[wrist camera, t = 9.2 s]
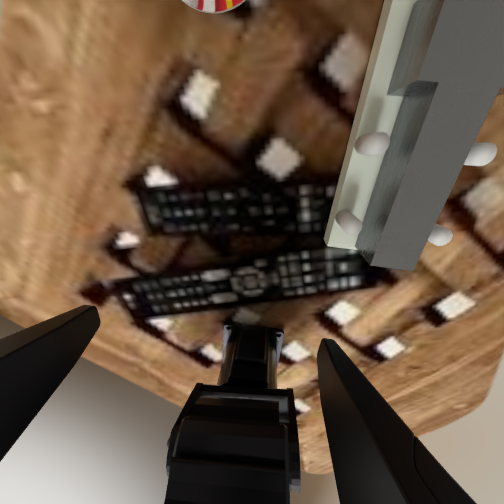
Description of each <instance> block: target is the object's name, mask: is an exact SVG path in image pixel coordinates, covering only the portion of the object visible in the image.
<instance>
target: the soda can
mask: <svg viewBox="0 0 504 504" xmlns="http://www.w3.org/2000/svg"><path fill="white" fill-rule="evenodd" d="M182 1H183V2H184V3H185V4H187V5H188V6H190V7H192V8H193V9H196V10H198V11H201V12H205V13H212V14H216V13H223V12H226V11H229V10H232V9H234V8H236V7H237V6H239V5H241V4H242V3H243V2H244V1H246V0H182Z"/></svg>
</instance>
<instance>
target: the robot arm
mask: <svg viewBox="0 0 504 504" xmlns="http://www.w3.org/2000/svg"><path fill="white" fill-rule="evenodd" d="M99 326H100V318H99V314H98V310H97V308H96V307H95V306H91V305H83V306H80V307H78V308H75V309H73V310H70V311H68V312H65V313H63V314H60V315H58V316H56V317H53V318H51V319H48V320H46V321H43V322H41V323H38V324H36V325H34V326H31V327H29V328H26V329H24V330H21V331H19V332H16V333H14V334H11V335H9V336H7V337H4V338H2V339H0V461H1V460H2V459H3V458H4V456H5V455H6V454H7V452H8V451H9V450H10V448H11V447H12V446H13V445H14V443H15V442H16V440H17V439H18V438H19V437H20V436H21V434H22V433H23V432H24V430H25V429H26V428H27V426H28V425H29V424H30V423H31V421H32V420H33V419H34V417H35V416H36V415H37V413H38V412H39V411H40V410H41V408H42V407H43V406H44V404H45V403H46V402H47V401H48V399H49V398H50V397H51V395H52V394H53V393H54V391H55V390H56V389H57V388H58V386H59V385H60V384H61V382H62V381H63V380H64V378H65V377H66V376H67V374H68V373H69V372H70V371H71V369H72V368H73V367H74V365H75V364H76V362H77V361H78V359H79V358H80V356H81V355H82V353H83V352H84V350H85V349H86V347H87V346H88V344H89V342H90V341H91V339H92V338H93V336H94V335H95V333H96V332H97V330H98V328H99ZM228 326H229V327H228ZM283 337H284V332H283V330H281V329H275V328H268V327H261V326H254V325H247V324H240V323H232V322H227V323H225V326H224V340H223V359H222V366H221V371H220V375H219V379H218V383H217V385H207V384H203V383H197V384H196V386H195V387H194V389H193V391H192V392H191V394H190V396H189V398H188V400H187V402H186V404H185V406H184V408H183V409H182V412H181V413H180V415H179V417H178V419H177V421H176V423H175V425H174V427H173V429H172V431H171V435H170V437H169V439H168V442H167V448H168V454H167V464H166V469H167V476H168V477H169V478H168V485H167V491H166V498H165V502H164V504H290V491H292V492H300V453H299V439H298V429H297V420H296V412H295V403H294V394H293V389H291V388H287V389H277V366H278V361H279V356H280V352H281V347H282V342H283ZM317 365H318V377H319V389H320V399H321V406H322V412H323V417H324V422H325V427H326V433H327V438H328V443H329V448H330V453H331V459H332V464H333V469H334V474H335V480H336V485H337V490H338V495H339V500H340V504H477V503H475V501H474V500H473V499H472V498H471V497H470V496H469V495H468V494H467V493H466V492H465V491H464V490H463V489H462V487H461V486H460V485H459V484H458V483H457V482H456V481H455V480H454V479H453V478H452V477H451V476H450V475H449V473H448V472H447V471H446V470H445V469H444V468H443V467H442V466H441V464H440V463H439V462H438V461H437V460H436V459H435V458H434V456H433V455H432V454H431V453H430V452H429V451H428V450H427V448H426V447H425V446H424V445H423V444H422V442H421V441H420V440H419V439H418V438H417V437H416V436H414V433H413V432H412V431H411V430H410V429H409V427H408V426H407V425H406V424H405V423H404V422H403V420H402V419H401V418H400V417H399V416H398V414H397V413H396V412H395V411H394V410H393V409H392V407H391V406H390V405H389V404H388V403H387V402H386V400H385V399H384V398H383V397H382V396H381V395H380V393H379V392H378V391H377V390H376V389H375V387H374V386H373V385H372V384H371V383H370V382H369V380H368V379H367V378H366V377H365V376H364V375H363V373H362V372H361V371H360V370H359V369H358V368H357V366H356V365H355V364H354V363H353V362H352V360H351V359H350V358H349V357H348V356H347V355H346V353H345V352H344V351H343V350H342V349H341V348H340V346H339V345H338V344H337V343H336V342H335V341H334V340H333V339H326V338H323V339H322V340H321V343H320V346H319V349H318V353H317Z"/></svg>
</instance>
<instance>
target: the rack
mask: <svg viewBox="0 0 504 504" xmlns="http://www.w3.org/2000/svg"><path fill="white" fill-rule="evenodd" d="M416 1H417V0H384V4H383V8H382V12H381V16H380V20H379V24H378V27H377V31H376V35H375V39H374V43H373V47H372V51H371V55H370V59H369V63H368V67H367V71H366V75H365V79H364V83H363V86H362V90H361V94H360V98H359V102H358V106H357V110H356V114H355V118H354V122H353V126H352V130H351V134H350V138H349V142H348V145H347V149H346V153H345V157H344V161H343V165H342V169H341V173H340V177H339V181H338V185H337V189H336V193H335V197H334V201H333V204H332V208H331V212H330V216H329V220H328V224H327V228H326V232H325V236H324V241H325V243H326V245H327V246H331V247H339V248H347V249H355V250H357V249H356V247H355V244H356V241H357V238H358V235H359V232H360V231H361V229H362V222H363V219H364V216H365V213H366V210H367V207H368V204H369V201H370V198H371V195H372V191H373V188H374V185H375V182H376V179H377V176H378V173H379V170H380V167H381V164H382V161H383V158H384V155H385V151H386V150H387V149H388V147H389V144H390V136H391V133H392V130H393V127H394V124H395V121H396V118H397V115H398V111H399V108H400V105H401V102H402V99H403V97H401V96H390V95H387V92H388V89H389V85H390V82H391V78H392V75H393V72H394V68H395V65H396V62H397V58H398V55H399V51H400V48H401V45H402V41H403V38H404V35H405V31H406V28H407V25H408V21H409V18H410V14H411V11H412V8H413V4H414V3H415V2H416ZM496 153H497V147H496V145H495V144H493V143H474V144H473V146H472V148H471V150H470V152H469V154H468V156H467V158H466V160H465V163H464V165H473V166H483V165H486V164H488V163H489V162H491V161H492V160H493V158H494V157H495V155H496ZM452 237H453V233H452V231H451V230H449V229H447V228H445V227H443V226H440V225H438V224H436V223H435V226H434V228H433V230H432V232H431V234H430V236H429V238H428V241H429V242H431V243H433V244H434V245H437V246H442V245H445V244H447V243H448V242H450V240H451V239H452Z"/></svg>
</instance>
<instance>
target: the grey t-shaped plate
mask: <svg viewBox="0 0 504 504" xmlns="http://www.w3.org/2000/svg"><path fill="white" fill-rule="evenodd" d="M502 94H504V0H417V1H416V2H415V3H414V4H413V8H412V11H411V14H410V18H409V21H408V25H407V28H406V31H405V35H404V38H403V41H402V45H401V48H400V51H399V55H398V58H397V62H396V65H395V68H394V72H393V75H392V78H391V82H390V85H389V89H388V92H387V95H390V96H401V97H403V99H402V102H401V105H400V108H399V111H398V115H397V118H396V121H395V124H394V127H393V130H392V133H391V136H390V144H389V147H388V149H387V150H386V151H385V155H384V158H383V161H382V164H381V167H380V170H379V173H378V176H377V179H376V182H375V185H374V188H373V191H372V195H371V198H370V201H369V204H368V207H367V210H366V213H365V216H364V219H363V222H362V229H361V231H360V232H359V235H358V238H357V241H356V244H355V247H356V249H357V250H358V251H359V252H360V254H361V255H362V256H363V257H364V258H365V260H366V261H367V262H368V263H369V264H370V265H371V266H379V267H387V268H395V269H403V270H411V271H413V270H414V268H415V265H416V263H417V261H418V259H419V257H420V255H421V253H422V251H423V249H424V247H425V244H426V242H427V240H428V238H429V236H430V234H431V232H432V230H433V228H434V226H435V223H436V221H437V219H438V217H439V215H440V213H441V211H442V209H443V207H444V205H445V202H446V200H447V198H448V196H449V194H450V192H451V190H452V188H453V186H454V184H455V181H456V179H457V177H458V175H459V173H460V171H461V169H462V167H463V165H464V163H465V160H466V158H467V156H468V154H469V152H470V150H471V148H472V146H473V144H474V142H475V139H476V137H477V135H478V133H479V131H480V129H481V127H482V125H483V123H484V121H485V118H486V116H487V114H488V112H489V110H490V108H491V106H492V104H493V102H494V100H495V97H496V96H498V95H502Z"/></svg>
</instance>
